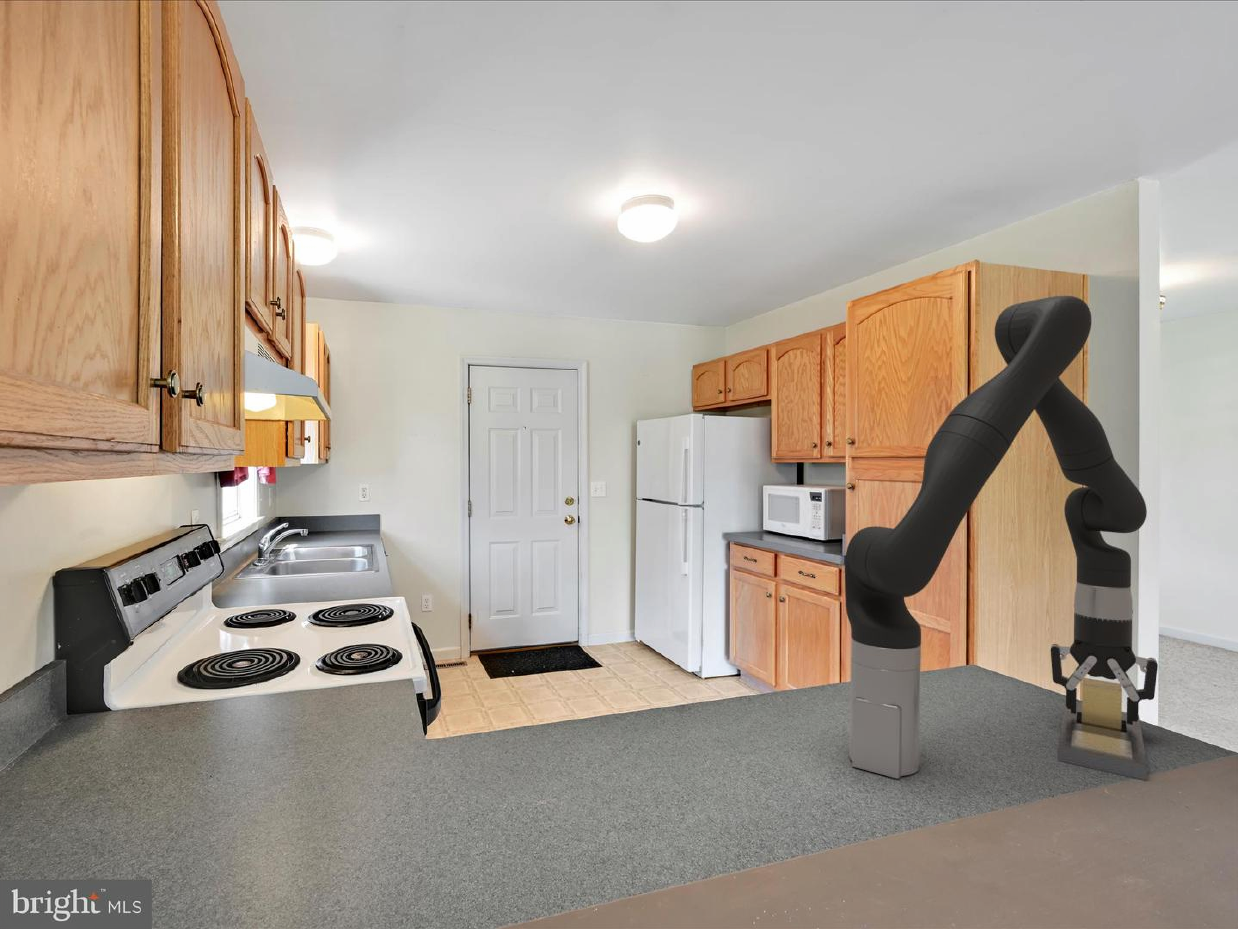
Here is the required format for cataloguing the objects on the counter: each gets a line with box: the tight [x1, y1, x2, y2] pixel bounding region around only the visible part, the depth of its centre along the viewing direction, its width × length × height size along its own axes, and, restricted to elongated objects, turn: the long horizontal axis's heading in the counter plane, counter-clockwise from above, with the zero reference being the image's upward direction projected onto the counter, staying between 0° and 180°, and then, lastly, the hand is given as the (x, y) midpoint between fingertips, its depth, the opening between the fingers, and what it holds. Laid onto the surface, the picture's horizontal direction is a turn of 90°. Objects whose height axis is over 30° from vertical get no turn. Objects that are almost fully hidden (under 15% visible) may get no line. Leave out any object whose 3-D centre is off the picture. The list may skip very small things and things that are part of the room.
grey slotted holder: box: [1057, 701, 1148, 782], centre depth 102 cm, size 24×10×2 cm, turn 144°
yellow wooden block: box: [1081, 677, 1123, 732], centre depth 106 cm, size 5×5×8 cm
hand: (1101, 717), depth 106 cm, fingers open, 6 cm apart
